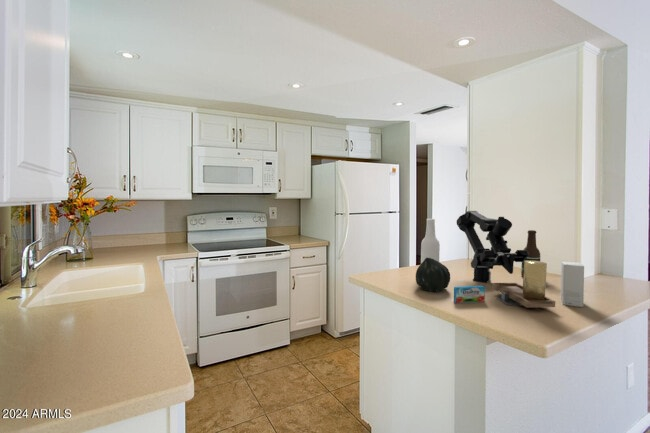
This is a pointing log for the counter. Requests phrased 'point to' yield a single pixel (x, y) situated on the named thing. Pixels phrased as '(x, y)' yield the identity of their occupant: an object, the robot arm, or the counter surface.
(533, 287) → the cylinder
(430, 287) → the squash
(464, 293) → the yogurt
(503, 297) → the pivot stand
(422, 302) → the counter surface
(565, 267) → the skincare box
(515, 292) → the brown wooden tray
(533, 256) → the beer bottle
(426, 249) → the alcohol
